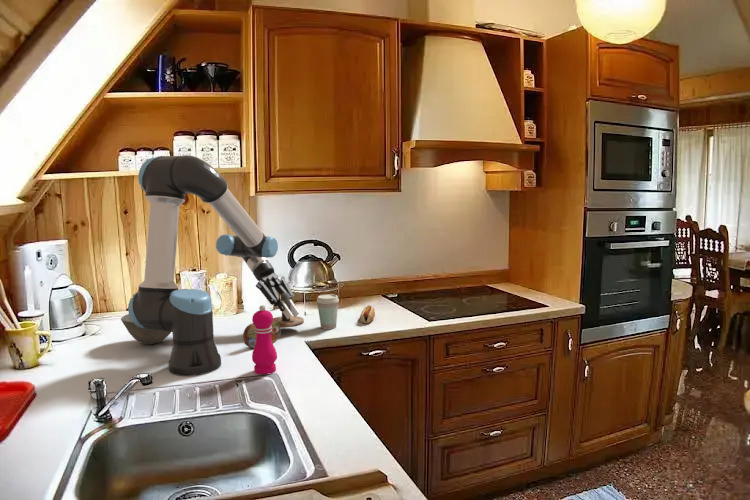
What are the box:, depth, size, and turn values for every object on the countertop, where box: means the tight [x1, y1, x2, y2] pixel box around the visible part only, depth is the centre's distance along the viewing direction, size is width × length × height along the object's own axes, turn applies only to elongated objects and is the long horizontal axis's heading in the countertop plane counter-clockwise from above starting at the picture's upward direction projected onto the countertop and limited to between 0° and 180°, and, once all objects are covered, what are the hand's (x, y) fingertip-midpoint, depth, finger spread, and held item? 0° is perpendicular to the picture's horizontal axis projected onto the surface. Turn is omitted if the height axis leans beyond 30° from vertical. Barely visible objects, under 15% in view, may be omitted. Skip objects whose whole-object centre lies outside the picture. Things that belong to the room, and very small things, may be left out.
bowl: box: [120, 313, 172, 345], centre depth 186 cm, size 19×19×10 cm
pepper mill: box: [251, 304, 278, 375], centre depth 156 cm, size 7×7×20 cm
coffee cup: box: [316, 293, 340, 330], centre depth 202 cm, size 9×8×12 cm
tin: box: [242, 319, 282, 349], centre depth 182 cm, size 15×3×8 cm, turn 143°
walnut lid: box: [273, 293, 305, 329], centre depth 197 cm, size 13×13×11 cm
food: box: [359, 305, 376, 324], centre depth 212 cm, size 14×6×5 cm, turn 175°
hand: (293, 315), depth 195 cm, fingers closed on walnut lid, 3 cm apart
